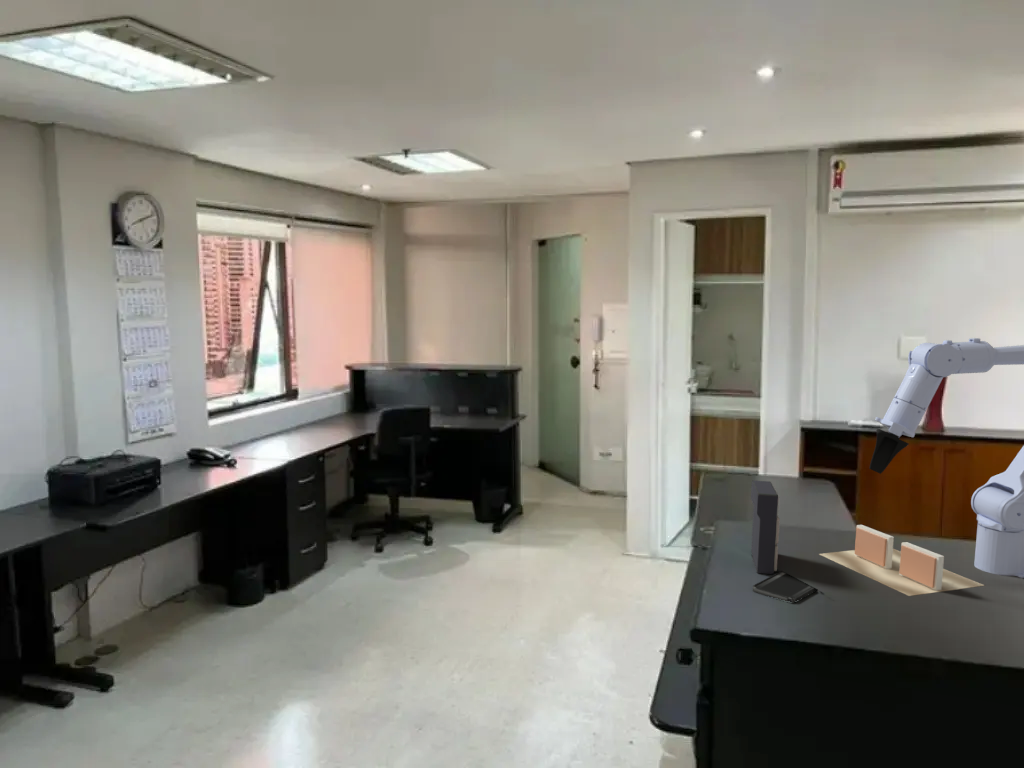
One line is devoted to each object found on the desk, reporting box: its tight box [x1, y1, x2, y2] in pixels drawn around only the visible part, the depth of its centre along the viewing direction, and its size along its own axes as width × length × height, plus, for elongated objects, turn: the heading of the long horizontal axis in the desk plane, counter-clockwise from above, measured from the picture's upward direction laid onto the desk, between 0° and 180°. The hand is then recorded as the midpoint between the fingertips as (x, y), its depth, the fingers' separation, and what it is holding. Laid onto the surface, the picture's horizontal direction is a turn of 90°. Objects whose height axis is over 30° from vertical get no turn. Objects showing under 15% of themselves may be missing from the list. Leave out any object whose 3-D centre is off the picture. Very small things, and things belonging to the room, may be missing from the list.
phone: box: [752, 570, 819, 602], centre depth 136 cm, size 8×1×15 cm
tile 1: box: [854, 524, 895, 569], centre depth 147 cm, size 2×8×6 cm, turn 19°
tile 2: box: [899, 541, 945, 591], centre depth 136 cm, size 2×8×6 cm, turn 19°
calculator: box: [750, 480, 781, 575], centre depth 146 cm, size 11×4×15 cm, turn 168°
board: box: [818, 548, 985, 597], centre depth 144 cm, size 17×22×1 cm
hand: (875, 471), depth 142 cm, fingers open, 7 cm apart
